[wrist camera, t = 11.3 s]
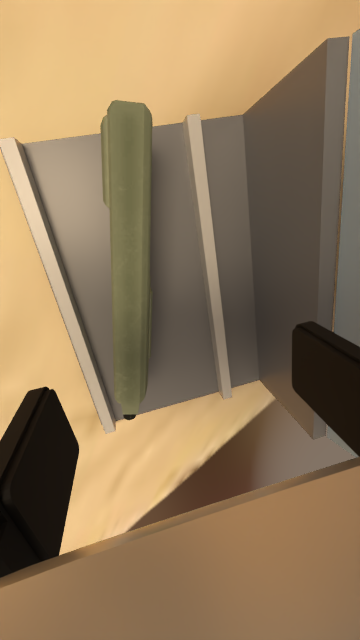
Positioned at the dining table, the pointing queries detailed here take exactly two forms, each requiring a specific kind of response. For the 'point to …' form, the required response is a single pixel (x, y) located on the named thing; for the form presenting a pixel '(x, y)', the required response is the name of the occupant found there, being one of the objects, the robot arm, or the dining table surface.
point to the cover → (350, 225)
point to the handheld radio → (129, 245)
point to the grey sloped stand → (204, 240)
